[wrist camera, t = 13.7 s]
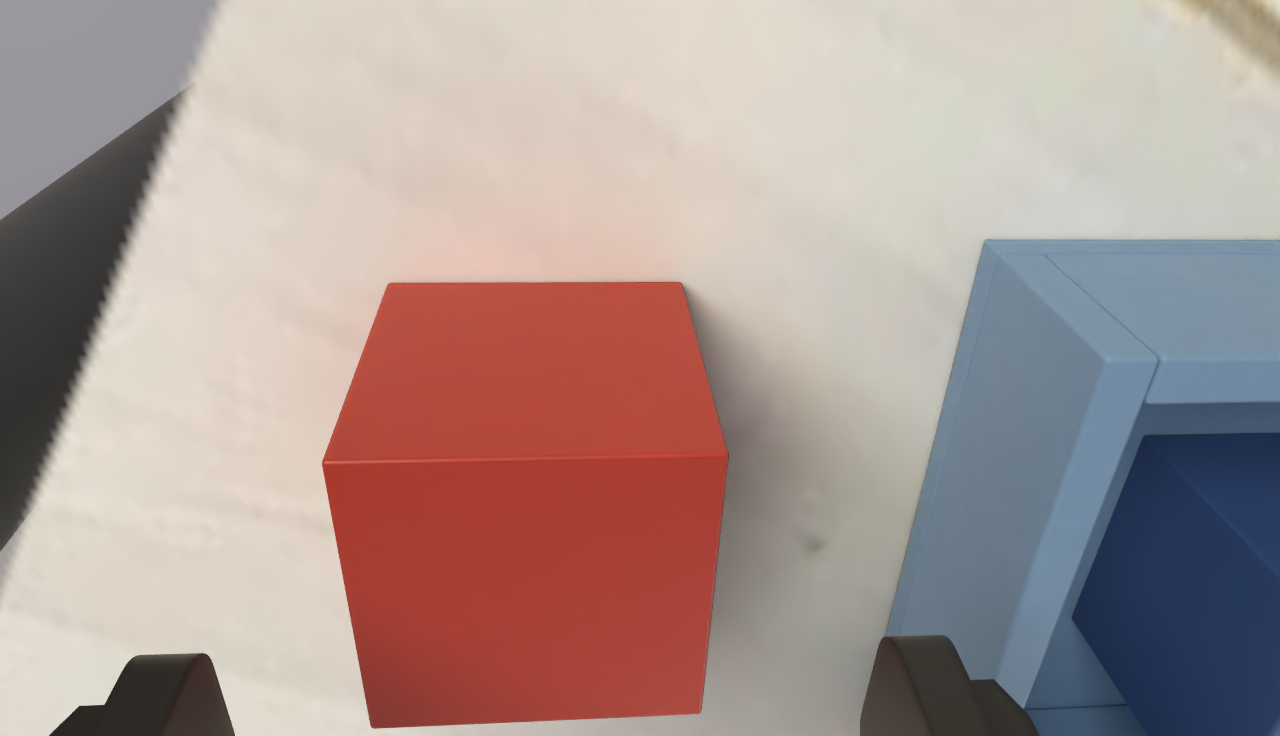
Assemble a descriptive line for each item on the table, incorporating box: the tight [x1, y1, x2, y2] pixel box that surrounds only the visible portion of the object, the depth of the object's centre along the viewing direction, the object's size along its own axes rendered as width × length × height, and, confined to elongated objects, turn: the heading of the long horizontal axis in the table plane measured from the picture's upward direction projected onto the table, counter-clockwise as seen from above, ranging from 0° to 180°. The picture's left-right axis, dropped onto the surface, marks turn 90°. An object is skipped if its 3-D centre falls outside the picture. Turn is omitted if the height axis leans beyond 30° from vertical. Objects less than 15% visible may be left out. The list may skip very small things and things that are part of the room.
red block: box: [322, 282, 729, 728], centre depth 14 cm, size 5×5×5 cm
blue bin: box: [885, 240, 1280, 736], centre depth 18 cm, size 13×13×4 cm
